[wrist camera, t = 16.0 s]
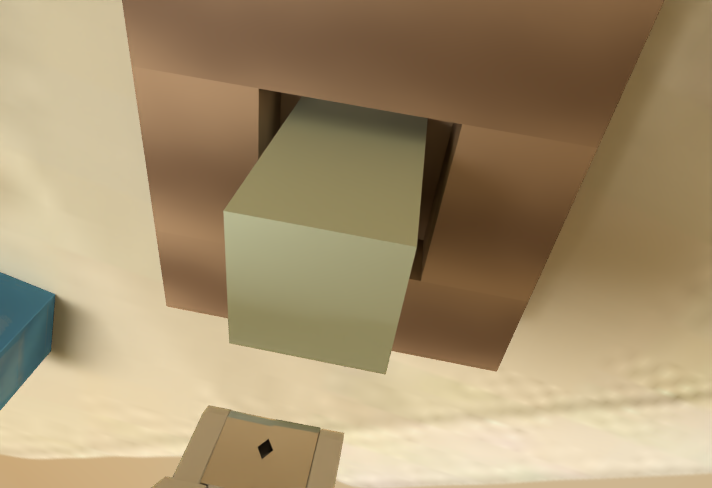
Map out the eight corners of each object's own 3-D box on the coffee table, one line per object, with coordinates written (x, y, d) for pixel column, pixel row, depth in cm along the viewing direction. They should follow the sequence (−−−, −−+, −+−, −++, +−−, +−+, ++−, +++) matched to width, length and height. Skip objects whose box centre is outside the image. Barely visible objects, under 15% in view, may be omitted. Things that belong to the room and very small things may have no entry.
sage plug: (304, 92, 20) (223, 210, 13) (428, 114, 20) (417, 246, 12) (298, 198, 23) (229, 343, 16) (405, 218, 23) (385, 374, 15)
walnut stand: (176, -95, 18) (108, -90, 14) (619, -25, 17) (664, -1, 14) (203, 251, 28) (166, 305, 24) (490, 306, 27) (496, 371, 23)
